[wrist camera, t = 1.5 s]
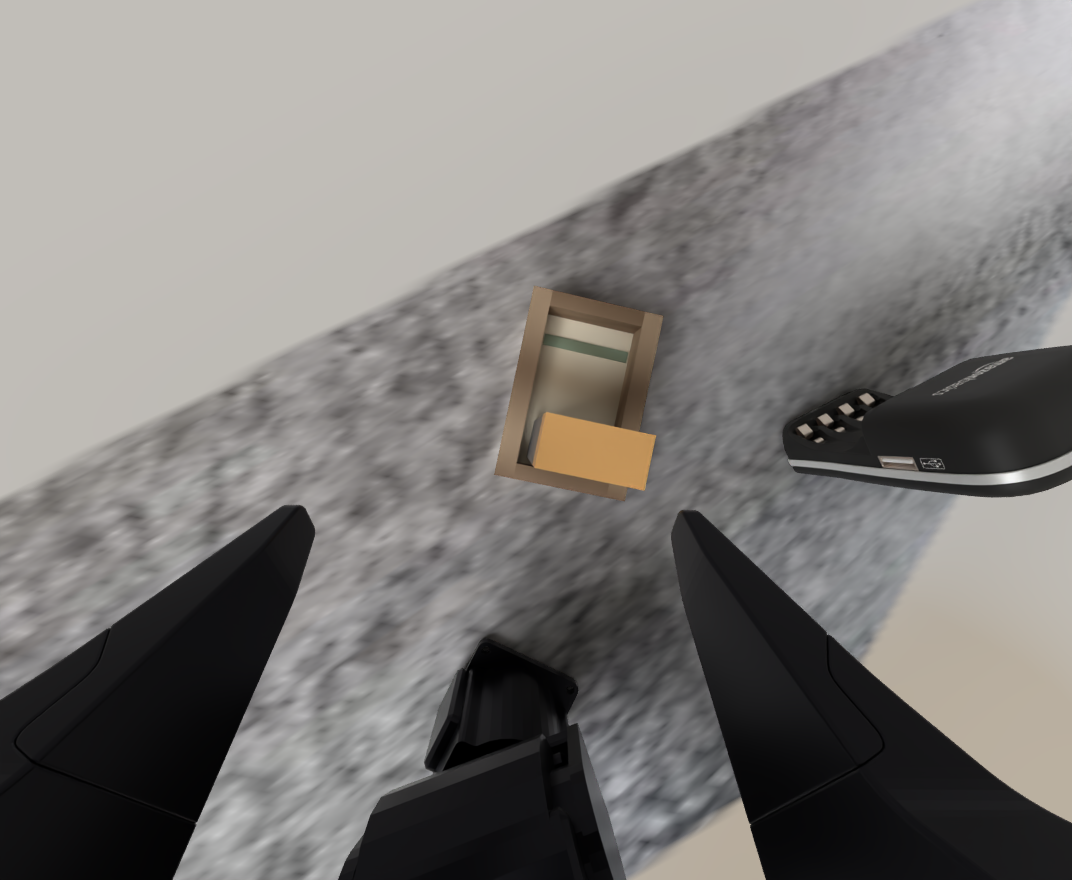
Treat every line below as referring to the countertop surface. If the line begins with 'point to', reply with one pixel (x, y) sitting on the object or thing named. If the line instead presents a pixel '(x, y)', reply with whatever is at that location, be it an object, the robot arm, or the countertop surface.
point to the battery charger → (950, 430)
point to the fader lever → (591, 450)
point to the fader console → (577, 378)
